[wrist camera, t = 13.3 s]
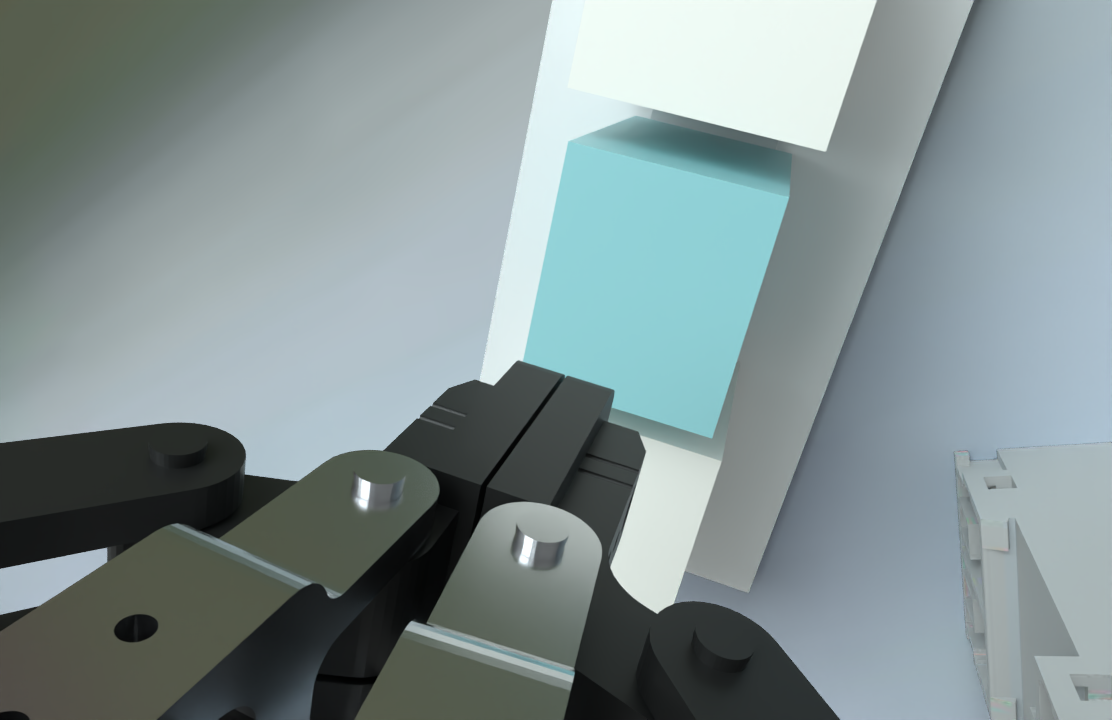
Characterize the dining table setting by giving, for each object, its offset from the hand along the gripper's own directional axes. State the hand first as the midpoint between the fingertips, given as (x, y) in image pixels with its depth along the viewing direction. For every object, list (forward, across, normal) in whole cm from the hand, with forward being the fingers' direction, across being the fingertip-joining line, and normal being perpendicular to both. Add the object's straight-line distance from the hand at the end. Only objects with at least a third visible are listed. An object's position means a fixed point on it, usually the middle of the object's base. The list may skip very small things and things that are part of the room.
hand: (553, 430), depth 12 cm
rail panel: (+18, 0, 0) cm, 18 cm away
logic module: (+16, 0, 0) cm, 16 cm away
